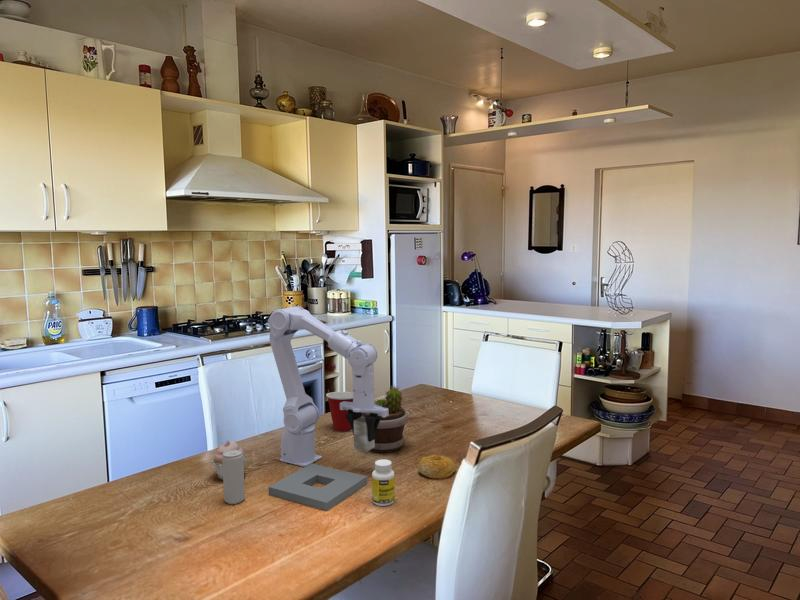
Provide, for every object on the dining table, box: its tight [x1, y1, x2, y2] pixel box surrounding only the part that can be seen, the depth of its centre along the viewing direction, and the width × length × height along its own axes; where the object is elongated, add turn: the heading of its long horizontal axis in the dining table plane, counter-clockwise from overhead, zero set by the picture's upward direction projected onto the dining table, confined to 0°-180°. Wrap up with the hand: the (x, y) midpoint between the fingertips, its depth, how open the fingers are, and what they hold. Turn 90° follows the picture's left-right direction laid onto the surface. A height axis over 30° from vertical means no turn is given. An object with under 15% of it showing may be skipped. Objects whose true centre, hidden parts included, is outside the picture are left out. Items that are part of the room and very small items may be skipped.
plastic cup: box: [325, 391, 353, 433], centre depth 190 cm, size 11×11×12 cm
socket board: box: [268, 462, 368, 512], centre depth 145 cm, size 18×17×2 cm
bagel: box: [417, 454, 457, 480], centre depth 155 cm, size 10×11×5 cm
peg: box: [353, 417, 375, 453], centre depth 155 cm, size 4×4×8 cm
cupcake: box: [211, 440, 249, 481], centre depth 153 cm, size 9×9×10 cm
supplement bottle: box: [371, 459, 396, 507], centre depth 137 cm, size 5×5×10 cm
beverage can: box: [222, 449, 246, 505], centre depth 138 cm, size 5×5×12 cm
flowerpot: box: [362, 384, 409, 453], centre depth 173 cm, size 14×15×20 cm
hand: (364, 438), depth 155 cm, fingers closed on peg, 4 cm apart
